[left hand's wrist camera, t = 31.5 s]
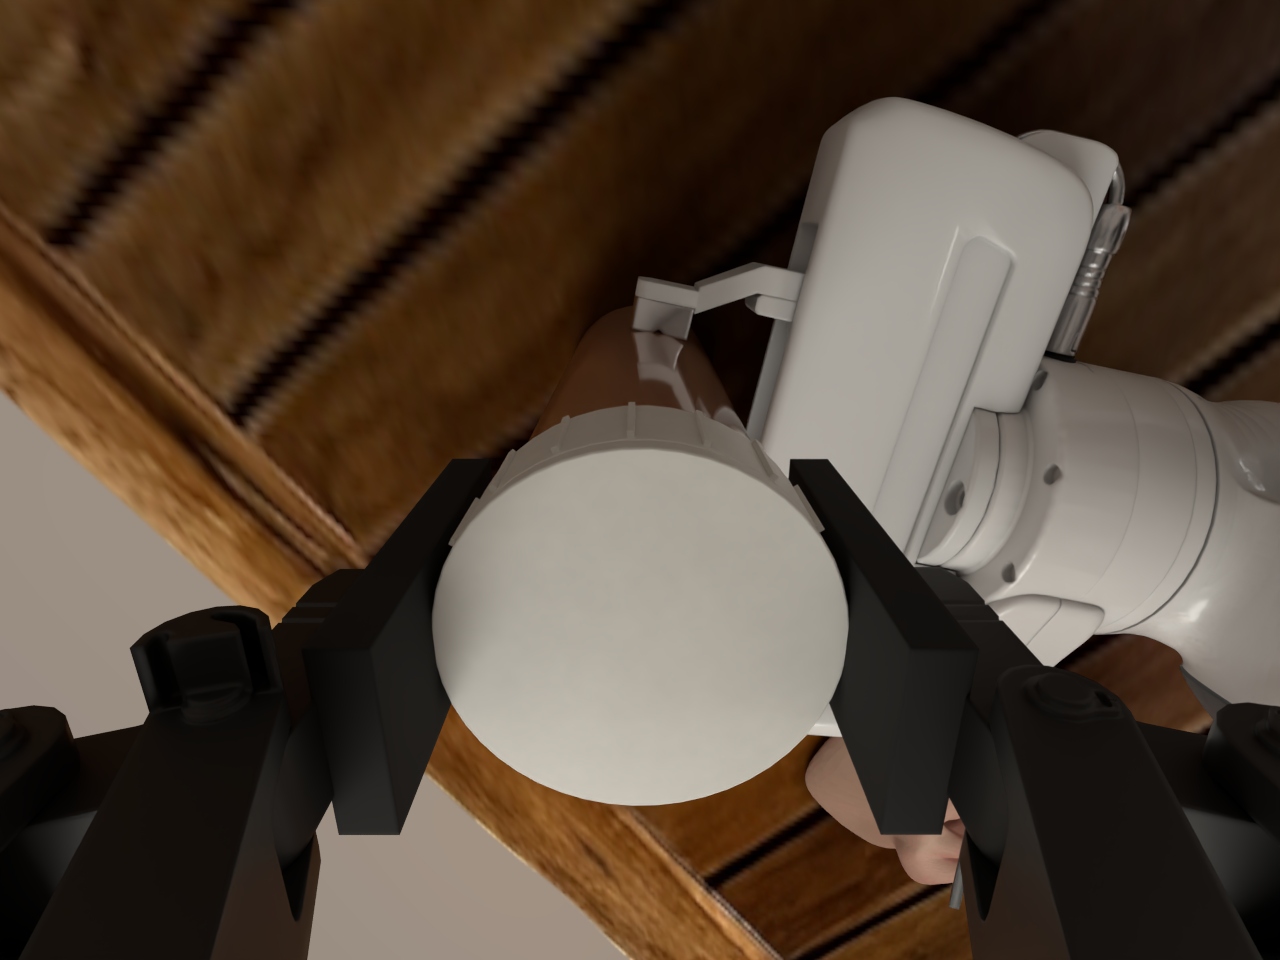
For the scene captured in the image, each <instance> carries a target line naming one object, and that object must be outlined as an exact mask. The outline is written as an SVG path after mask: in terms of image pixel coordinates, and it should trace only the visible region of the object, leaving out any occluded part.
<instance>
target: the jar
mask: <svg viewBox="0 0 1280 960" xmlns="http://www.w3.org/2000/svg"><path fill="white" fill-rule="evenodd" d="M632 308H633V306H628V307H623V308H620V309H617V310H614V311H612V312H610V313H608V314H606V315H604V316H603V317H601V318H600V319H599V320H597V321H596V322H595V323H594V324H593V325H592V326H591V327H590V328H589V329H588V330H587V331H586V333H585V334H584V336H583V337H582V339H581V341H580V343H579V344H578V346H577V348H576V350H575V352H574V354H573V356H572V358H571V360H570V362H569V364H568V366H567V368H566V370H565V372H564V373H563V375H562V377H561V379H560V381H559V383H558V385H557V387H556V389H555V391H554V393H553V395H552V397H551V399H550V401H549V403H548V405H547V407H546V408H545V410H544V412H543V414H542V416H541V418H540V420H539V422H538V424H537V426H536V428H535V430H534V432H533V434H532V436H531V438H530V440H532V439H533V438H534V437H536V436H538V435H539V434H541V433H543V432H544V431H546V430H548V429H549V428H551V427H553V426H555V425H557V424H559V423H561V420H562V418H563V417H565V416H567V415H569V417H570V419H571V418H573V417H575V416H579V415H582V414H586V413H589V412H593V411H596V410H600V409H607V408H613V407H620V406H628V402H635V406H644V405H650V406H659V407H668V408H675V409H679V410H684V411H688V412H692V413H695V411H696V410H699V411H702V412H703V415H704V417H707V418H710V419H712V420H715V421H717V422H720V423H722V424H724V425H726V426H727V427H729V428H731V429H733V430H735V431H737V432H738V433H740V434H742V435H743V436H745V437H746V438H747V439H749V440H750V438H749V436H748V434H747V432H746V430H745V428H744V426H743V424H742V422H741V420H740V418H739V416H738V414H737V412H736V411H735V409H734V407H733V405H732V403H731V401H730V399H729V397H728V395H727V393H726V391H725V389H724V387H723V385H722V383H721V381H720V379H719V377H718V376H717V374H716V372H715V370H714V368H713V366H712V364H711V362H710V360H709V358H708V356H707V354H706V352H705V350H704V348H703V346H702V344H701V343H700V341H699V339H698V337H697V336H696V334H695V333H694V332H693V330H692V329H691V328H690V329H689V333H688V337H687V340H683V339H677V338H673V337H670V336H667V335H664V334H663V333H662V332H661V331H660V330H657V331H654V332H645V331H639V330H635V329H632V328H630V319H631V314H632ZM530 440H529V441H530ZM529 441H528V442H529ZM750 441H751V440H750Z"/></svg>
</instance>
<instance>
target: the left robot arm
mask: <svg viewBox="0 0 1280 960" xmlns="http://www.w3.org/2000/svg"><path fill="white" fill-rule="evenodd" d="M788 480H789V481H790V482H791V484H792V486H793V487H794V486H795V485H798V486H799V487H800V489H801V491H802V492H803V494H804V496H805V497H806V499H807V501H808V502H809V504H810V506H811V507H812V509H813V511H814V512H815V514H816V516H817V517H818V519H819V520H820V522H821V524H822V525H823V527H824V529H825V530H823V531H822V532H820V534H821V536H822V537H823V539H824V541H825V543H826V545H827V546H828V548H829V550H830V552H831V553H832V555H833V557H834V559H835V561H836V564H837V567H838V569H839V572H840V575H841V577H842V580H843V583H844V588H845V593H846V598H847V602H848V612H849V627H848V636H847V645H846V653H845V660H844V666H843V670H842V674H841V677H840V680H839V682H838V685H837V687H836V689H835V692H834V694H833V697H832V698H831V700H830V702H829V704H830V707H831V709H832V712H833V715H834V717H835V720H836V722H837V725H838V727H839V730H840V732H841V735H842V737H843V740H844V743H845V745H846V748H847V750H848V753H849V755H850V758H851V760H852V763H853V765H854V768H855V770H856V773H857V776H858V778H859V781H860V783H861V786H862V788H863V791H864V793H865V796H866V798H867V801H868V804H869V806H870V809H871V811H872V814H873V816H874V819H875V821H876V824H877V826H878V829H879V831H880V834H881V835H942V830H943V825H944V820H945V815H946V811H947V806H948V801H949V798H950V800H951V802H952V804H953V806H954V808H955V809H956V811H957V813H958V815H959V817H960V819H961V821H962V822H963V824H964V826H965V830H964V835H963V840H962V844H961V849H960V853H959V858H958V862H957V867H956V872H955V876H954V881H953V885H952V890H951V896H950V904H949V907H952V908H956V909H959V907H960V903H961V899H962V894H963V893H964V897H965V905H966V912H967V919H968V926H969V933H970V940H971V948H972V955H973V960H1280V706H1271V705H1264V704H1257V703H1250V702H1245V703H1235V704H1227V705H1226V706H1224V707H1223V708H1222V709H1220V710H1219V711H1217V712H1216V715H1215V718H1214V721H1213V723H1212V726H1211V729H1210V732H1209V734H1208V736H1206V735H1201V734H1196V733H1191V732H1186V731H1181V730H1176V729H1171V728H1166V727H1161V726H1156V725H1151V724H1146V723H1142V722H1138V721H1135V719H1134V717H1133V715H1132V713H1131V712H1130V710H1129V709H1128V708H1127V707H1126V706H1125V704H1124V703H1123V702H1122V701H1121V700H1120V699H1119V697H1118V696H1116V695H1115V694H1113V693H1112V692H1110V691H1109V690H1108V689H1106V688H1105V687H1103V686H1102V685H1100V684H1099V683H1097V682H1095V681H1092V680H1090V679H1088V678H1086V677H1083V676H1081V675H1079V674H1077V673H1074V672H1071V671H1067V670H1063V669H1059V668H1055V667H1051V666H1044V665H1043V664H1042V663H1041V662H1040V661H1039V660H1038V659H1037V657H1036V656H1035V655H1034V654H1033V653H1032V652H1031V651H1030V650H1029V649H1028V648H1027V647H1026V645H1025V644H1024V643H1023V642H1022V641H1021V640H1020V639H1019V638H1018V637H1017V636H1016V634H1015V633H1014V632H1013V631H1012V630H1011V629H1010V628H1009V627H1008V626H1007V625H1006V624H1005V622H1004V621H1003V620H999V616H998V615H997V614H996V613H995V612H994V610H993V609H992V608H991V607H990V606H989V605H985V601H984V599H983V598H982V597H981V596H980V595H979V594H978V593H977V592H976V591H975V590H974V589H973V587H972V586H971V585H970V584H969V583H968V582H966V581H964V580H963V579H961V578H959V577H958V576H956V575H954V574H952V573H951V572H949V571H947V570H945V569H944V568H942V567H914V566H913V565H912V564H911V563H910V561H909V560H908V559H907V558H906V556H905V555H904V554H903V553H902V551H901V550H900V549H899V548H898V546H897V545H896V544H895V543H894V541H893V540H892V539H891V538H890V536H889V535H888V534H887V533H886V531H885V530H884V529H883V528H882V526H881V525H880V524H879V523H878V521H877V520H876V519H875V518H874V516H873V515H872V514H871V512H870V511H869V510H868V509H867V507H866V506H865V505H864V504H863V502H862V501H861V500H860V499H859V497H858V496H857V495H856V494H855V492H854V491H853V490H852V489H851V487H850V486H849V485H848V484H847V482H846V481H845V480H844V479H843V477H842V476H841V475H840V474H839V472H838V471H837V470H836V469H835V467H834V466H833V465H832V464H831V462H830V461H829V460H828V459H790V465H789V478H788ZM491 481H492V472H491V460H490V459H452V460H451V462H450V463H449V464H448V465H447V467H446V468H445V469H444V470H443V472H442V473H441V474H440V475H439V477H438V478H437V479H436V480H435V482H434V483H433V484H432V485H431V487H430V488H429V489H428V490H427V492H426V493H425V494H424V496H423V497H422V498H421V499H420V501H419V502H418V503H417V504H416V506H415V507H414V508H413V509H412V511H411V512H410V513H409V514H408V516H407V517H406V518H405V519H404V521H403V522H402V523H401V524H400V526H399V527H398V528H397V529H396V531H395V532H394V533H393V534H392V536H391V537H390V538H389V539H388V541H387V542H386V543H385V544H384V546H383V547H382V548H381V549H380V551H379V552H378V553H377V554H376V556H375V557H374V558H373V559H372V561H371V562H370V563H369V564H368V566H367V567H366V568H365V569H339V570H338V571H336V572H334V573H332V574H331V575H329V576H327V577H326V578H324V579H322V580H320V581H319V582H317V583H315V584H314V585H312V586H311V588H310V589H309V590H308V591H307V592H306V593H305V594H304V595H303V596H302V597H301V599H300V600H299V601H298V602H297V603H296V607H292V609H291V610H290V611H289V612H288V613H287V614H286V615H285V616H284V617H283V618H282V623H278V624H277V625H276V626H275V627H274V628H273V629H271V625H270V620H269V616H268V615H266V614H265V613H264V612H262V611H261V610H259V609H257V608H252V607H246V606H241V605H239V606H221V607H213V608H209V609H204V610H200V611H195V612H191V613H188V614H185V615H182V616H180V617H177V618H174V619H172V620H169V621H166V622H164V623H163V624H161V625H159V626H157V627H156V628H154V629H152V630H150V631H149V632H147V633H145V634H144V635H143V636H142V637H141V638H140V639H139V640H138V641H136V642H135V643H134V644H133V645H132V646H131V647H130V650H131V654H132V657H133V660H134V664H135V667H136V670H137V673H138V677H139V680H140V683H141V686H142V690H143V693H144V696H145V699H146V703H147V706H148V709H149V712H150V713H149V715H148V717H147V718H146V720H145V722H144V724H143V725H139V726H135V727H130V728H126V729H120V730H115V731H111V732H105V733H100V734H95V735H90V736H85V737H80V738H75V739H74V738H73V735H72V733H71V730H70V727H69V724H68V721H67V719H66V716H65V715H64V714H63V713H61V712H60V711H59V710H57V709H56V708H54V707H45V706H35V705H33V706H26V707H19V708H12V709H3V710H0V960H307V956H308V949H309V942H310V935H311V928H312V921H313V914H314V906H315V899H316V892H317V885H318V878H319V870H320V863H321V859H320V851H319V844H318V840H317V835H316V829H317V827H318V825H319V823H320V821H321V820H322V818H323V816H324V814H325V812H326V810H327V808H328V806H329V805H330V803H331V801H332V803H333V808H334V813H335V818H336V823H337V828H338V833H339V835H400V833H401V830H402V827H403V825H404V822H405V820H406V817H407V815H408V812H409V810H410V807H411V805H412V802H413V800H414V797H415V794H416V792H417V789H418V787H419V784H420V782H421V779H422V776H423V774H424V772H425V769H426V767H427V764H428V761H429V759H430V756H431V754H432V751H433V749H434V746H435V744H436V741H437V739H438V736H439V733H440V731H441V728H442V726H443V723H444V721H445V718H446V716H447V713H448V711H449V708H450V705H451V701H450V699H449V697H448V694H447V692H446V690H445V688H444V686H443V684H442V681H441V678H440V674H439V671H438V668H437V664H436V657H435V649H434V641H433V632H432V608H433V602H434V596H435V589H436V586H437V583H438V580H439V577H440V574H441V571H442V568H443V565H444V563H445V561H446V559H447V557H448V555H449V553H450V551H451V549H452V547H453V546H451V545H449V542H450V540H451V538H452V536H453V534H454V533H455V531H456V529H457V528H458V526H459V524H460V523H461V521H462V519H463V518H464V516H465V514H466V513H467V511H468V509H469V508H470V506H471V504H472V503H473V501H474V499H475V498H478V499H480V498H481V497H482V495H483V493H484V492H485V490H486V488H487V487H488V485H489V484H490V482H491Z"/></svg>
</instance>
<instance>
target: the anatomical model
mask: <svg viewBox="0 0 1280 960" xmlns="http://www.w3.org/2000/svg"><path fill="white" fill-rule="evenodd" d="M805 781H806V785H807V788H808V790H809V791H810V793H811V795H812V796H813V797H814V798H815V800H816V801H817V802H818V803H819V804H820V805H821V806H822V807H823V808H824V809H825V810H826V811H827V812H828V813H830V814H831V815H832V816H833V817H834V818H835V819H836V820H837V821H838V822H839V823H841V824H842V825H843V826H845V827H846V828H847V829H849V830H850V831H852V832H853V833H855V834H857V835H858V836H860V837H861V838H863V839H864V840H866V841H868V842H870V843H872V844H875V845H877V846H881V847H885V848H896V850H897V853H898V856H899V858H900V861H901V863H902V866H903V868H904V869H905V871H906V872H907V874H908V875H909V876H910V877H911V878H912V879H913V880H915V881H917V882H919V883H922V884H943V883H953V881H954V876H955V872H956V867H957V862H958V858H959V853H960V849H961V844H962V840H963V835H964V830H965V826H964V824H963V822H962V821H961V819H960V817H959V815H958V813H957V811H956V809H955V808H954V806H953V804H952V802H951V800H950V798H949V801H948V806H947V811H946V815H945V820H944V825H943V830H942V835H881V834H880V831H879V829H878V826H877V824H876V821H875V819H874V816H873V814H872V811H871V809H870V806H869V804H868V801H867V798H866V796H865V793H864V791H863V788H862V786H861V783H860V781H859V778H858V776H857V773H856V770H855V768H854V765H853V763H852V760H851V758H850V755H849V753H848V750H847V748H846V745H845V743H844V740H843V737H833V736H831V737H830V738H829V739H828V740H827V741H826V742H825V743H824V744H823V745H822V747H821V748H820V749H819V750H818V752H817V753H816V754H815V756H814V757H813V758H812V760H811V762H810V763H809V766H808V768H807V770H806V775H805Z"/></svg>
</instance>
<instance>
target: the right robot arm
mask: <svg viewBox="0 0 1280 960" xmlns="http://www.w3.org/2000/svg"><path fill="white" fill-rule="evenodd" d="M1107 191H1108V198H1107V203H1103V201H1104V198H1105V196H1106V193H1107ZM1124 194H1125V179H1124V173H1123V169H1122V167H1121V164H1120V162H1119V160H1118V155H1117V153H1116V152H1115V151H1114V150H1113V149H1111V148H1110V147H1109V146H1107V145H1105V144H1103V143H1101V142H1099V141H1097V140H1095V139H1091V138H1087V137H1083V136H1078V135H1074V134H1070V133H1065V132H1061V131H1057V130H1052V129H1035V130H1030V131H1026V132H1023V133H1020V134H1018V135H1016V136H1012V135H1009V134H1007V133H1005V132H1002V131H1000V130H998V129H995V128H993V127H991V126H988V125H986V124H983V123H981V122H978V121H975V120H973V119H970V118H967V117H965V116H962V115H959V114H956V113H953V112H950V111H948V110H945V109H941V108H938V107H935V106H931V105H928V104H925V103H922V102H918V101H914V100H910V99H905V98H900V97H887V98H881V99H877V100H874V101H871V102H869V103H867V104H865V105H863V106H861V107H859V108H857V109H855V110H854V111H852V112H851V113H849V114H847V115H846V116H845V117H843V118H842V119H841V120H839V121H838V122H837V123H835V124H834V125H833V126H831V127H830V128H829V129H828V130H827V131H826V132H825V134H824V135H823V137H822V140H821V143H820V146H819V150H818V154H817V157H816V161H815V165H814V169H813V173H812V177H811V180H810V184H809V188H808V192H807V196H806V199H805V203H804V207H803V211H802V215H801V219H800V222H799V226H798V230H797V234H796V238H795V241H794V245H793V249H792V253H791V257H790V261H789V264H788V268H787V269H785V268H780V267H775V266H770V265H766V264H761V263H756V262H752V263H749V264H746V265H743V266H741V267H738V268H735V269H732V270H729V271H726V272H724V273H721V274H718V275H715V276H712V277H709V278H707V279H704V280H701V281H698V282H695V284H694V287H693V286H689V285H684V284H679V283H674V282H669V281H664V280H660V279H655V278H649V277H640V276H638V281H637V287H636V292H635V297H634V302H633V308H632V314H631V319H630V328H632V329H635V330H639V331H645V332H654V331H657V330H660V331H661V332H662V333H663V334H664V335H667V336H670V337H673V338H677V339H683V340H687V337H688V333H689V329H690V324H691V320H692V316H693V312H694V314H696V313H699V312H702V311H705V310H708V309H711V308H715V307H718V306H721V305H724V304H727V303H730V302H733V301H736V300H739V299H742V298H745V297H746V298H745V304H746V306H747V307H748V308H749V309H751V310H752V311H754V312H755V313H756V314H758V315H762V316H767V317H771V318H774V322H773V325H772V329H771V333H770V337H769V341H768V344H767V348H766V352H765V356H764V360H763V364H762V367H761V371H760V375H759V379H758V383H757V386H756V390H755V394H754V398H753V402H752V406H751V409H750V413H749V417H748V421H747V425H746V428H745V430H746V432H747V434H748V436H749V438H750V440H751V442H753V441H754V440H755V439H756V440H758V441H759V442H760V443H761V445H762V447H763V449H764V451H765V453H766V454H767V455H768V456H769V457H770V458H771V459H772V460H773V461H774V462H775V463H776V464H777V465H778V467H779V468H780V469H781V471H782V472H783V473H784V474H785V476H786V477H787V478H789V465H790V459H828V460H829V461H830V462H831V464H832V465H833V466H834V467H835V469H836V470H837V471H838V472H839V474H840V475H841V476H842V477H843V479H844V480H845V481H846V482H847V484H848V485H849V486H850V487H851V489H852V490H853V491H854V492H855V494H856V495H857V496H858V497H859V499H860V500H861V501H862V502H863V504H864V505H865V506H866V507H867V509H868V510H869V511H870V512H871V514H872V515H873V516H874V518H875V519H876V520H877V521H878V523H879V524H880V525H881V526H882V528H883V529H884V530H885V531H886V533H887V534H888V535H889V536H890V538H891V539H892V540H893V541H894V543H895V544H896V545H897V546H898V548H899V549H900V550H901V551H902V553H903V554H904V555H905V556H906V558H907V559H908V560H909V561H910V563H911V564H912V565H913V566H914V567H942V568H944V569H945V570H947V571H949V572H951V573H952V574H954V575H956V576H958V577H959V578H961V579H963V580H964V581H966V582H968V583H969V584H970V585H971V586H972V587H973V589H974V590H975V591H976V592H977V593H978V594H979V595H980V596H981V597H982V598H983V599H984V601H985V605H989V606H990V607H991V608H992V609H993V610H994V612H995V613H996V614H997V615H998V616H999V620H1003V621H1004V622H1005V624H1006V625H1007V626H1008V627H1009V628H1010V629H1011V630H1012V631H1013V632H1014V633H1015V634H1016V636H1017V637H1018V638H1019V639H1020V640H1021V641H1022V642H1023V643H1024V644H1025V645H1026V647H1027V648H1028V649H1029V650H1030V651H1031V652H1032V653H1033V654H1034V655H1035V656H1036V657H1037V659H1038V660H1039V661H1040V662H1041V663H1042V664H1043V665H1044V666H1051V667H1054V666H1055V665H1056V664H1057V663H1058V662H1060V661H1061V660H1062V659H1063V658H1064V657H1066V656H1067V655H1068V654H1070V653H1071V652H1072V651H1074V650H1075V649H1076V648H1077V647H1079V646H1080V645H1081V644H1083V643H1084V642H1085V641H1086V640H1087V639H1089V638H1090V637H1091V636H1092V635H1093V634H1097V635H1101V634H1119V633H1131V634H1137V635H1143V636H1147V637H1150V638H1152V639H1155V640H1158V641H1160V642H1162V643H1164V644H1166V645H1168V646H1170V647H1172V648H1174V649H1175V650H1177V651H1178V652H1179V654H1180V655H1181V656H1182V659H1183V664H1181V665H1180V669H1181V672H1182V674H1183V676H1184V678H1185V680H1186V681H1187V683H1188V685H1189V687H1190V688H1191V690H1192V691H1193V693H1194V694H1195V696H1196V697H1197V699H1198V700H1199V702H1200V703H1201V704H1202V706H1203V707H1204V708H1205V710H1206V711H1207V712H1208V713H1209V715H1210V716H1211V717H1212V718H1213V720H1214V718H1215V715H1216V712H1217V711H1219V710H1220V709H1222V708H1223V707H1224V706H1226V705H1227V704H1235V703H1245V702H1250V703H1257V704H1264V705H1271V706H1280V403H1276V402H1269V401H1260V400H1235V401H1224V402H1210V401H1207V400H1205V399H1204V398H1202V397H1201V396H1199V395H1198V394H1196V393H1194V392H1192V391H1190V390H1188V389H1186V388H1184V387H1182V386H1180V385H1178V384H1175V383H1172V382H1169V381H1166V380H1163V379H1160V378H1156V377H1151V376H1145V375H1140V374H1136V373H1131V372H1126V371H1121V370H1117V369H1112V368H1107V367H1102V366H1097V365H1092V364H1088V363H1083V362H1079V361H1077V360H1075V359H1074V358H1075V355H1076V353H1077V350H1078V348H1079V346H1080V343H1081V341H1082V339H1083V336H1084V334H1085V332H1086V329H1087V327H1088V324H1089V322H1090V320H1091V317H1092V315H1093V312H1094V309H1095V306H1096V303H1097V300H1096V298H1098V297H1099V293H1100V291H1099V289H1100V288H1101V286H1102V283H1103V282H1102V279H1104V277H1105V274H1106V272H1105V271H1106V270H1107V269H1108V267H1109V265H1110V262H1111V260H1112V258H1113V256H1114V255H1117V253H1118V251H1119V249H1120V248H1121V246H1122V243H1123V241H1124V239H1125V236H1126V234H1127V231H1128V227H1129V223H1130V219H1131V213H1132V209H1131V208H1129V207H1127V206H1123V200H1124ZM808 734H809V735H820V736H833V737H842V735H841V732H840V730H839V727H838V725H837V722H836V720H835V717H834V715H833V712H832V709H831V707H830V704H828V705H827V707H826V709H825V710H824V712H823V714H822V715H821V717H820V718H819V720H818V721H817V722H816V723H815V725H814V726H813V727H812V729H811V730H810V731H809V732H808Z"/></svg>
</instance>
